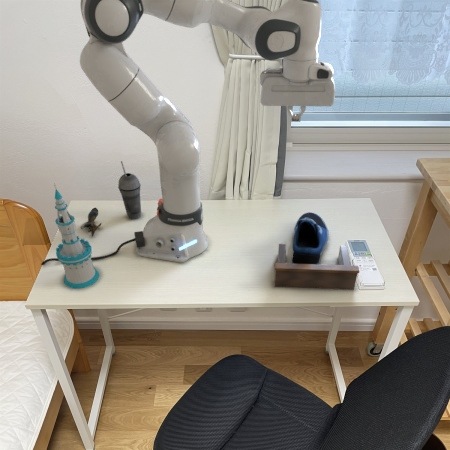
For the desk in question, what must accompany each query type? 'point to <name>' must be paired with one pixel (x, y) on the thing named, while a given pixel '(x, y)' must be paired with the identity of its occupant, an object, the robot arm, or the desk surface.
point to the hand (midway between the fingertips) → (295, 121)
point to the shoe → (309, 239)
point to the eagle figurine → (91, 221)
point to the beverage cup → (130, 194)
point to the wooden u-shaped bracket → (316, 273)
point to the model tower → (73, 250)
